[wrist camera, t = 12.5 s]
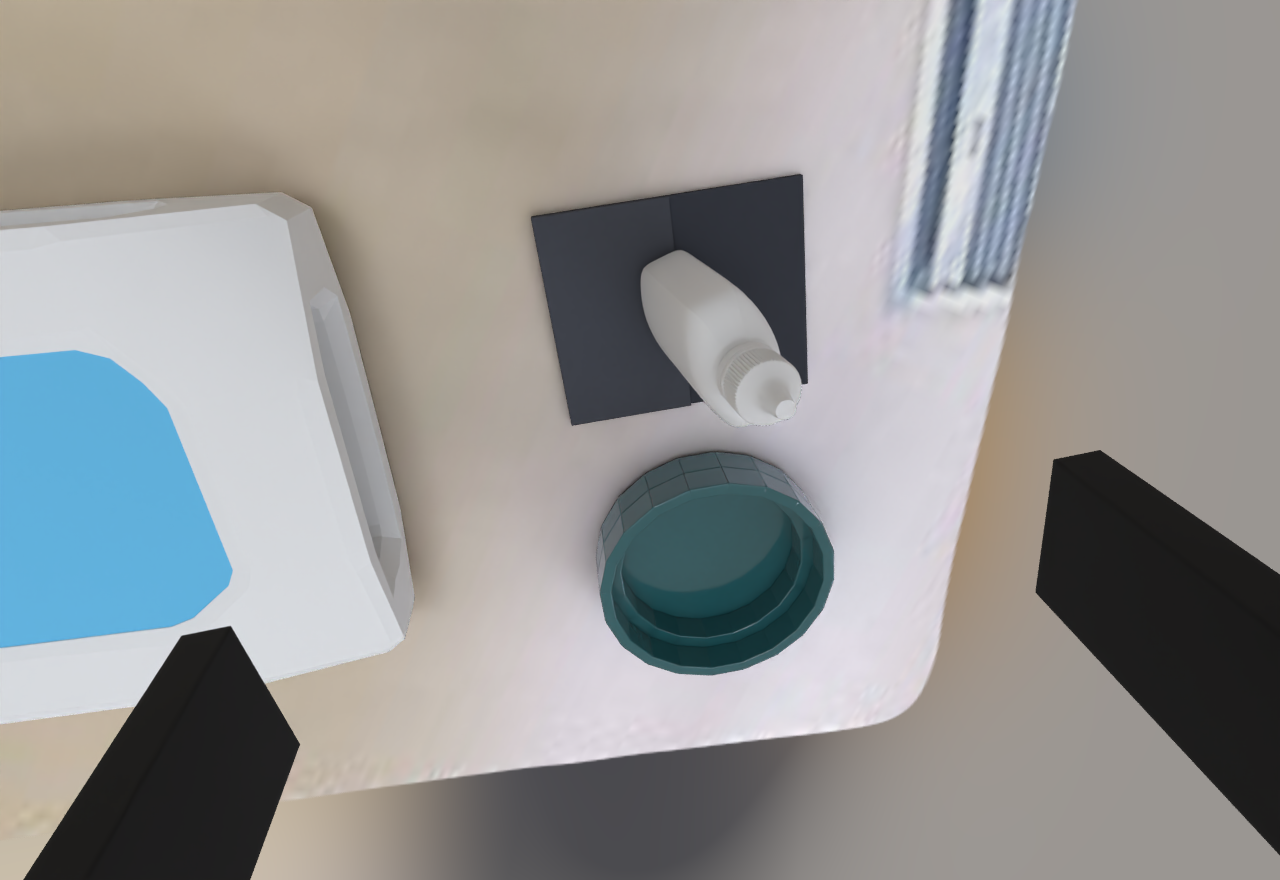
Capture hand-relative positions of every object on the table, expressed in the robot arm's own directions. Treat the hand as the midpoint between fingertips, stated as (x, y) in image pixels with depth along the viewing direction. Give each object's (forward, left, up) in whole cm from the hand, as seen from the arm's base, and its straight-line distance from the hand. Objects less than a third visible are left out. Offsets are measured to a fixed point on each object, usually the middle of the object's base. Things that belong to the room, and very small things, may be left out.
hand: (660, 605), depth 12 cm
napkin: (+2, +4, -23) cm, 24 cm away
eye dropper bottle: (+2, +4, -23) cm, 23 cm away
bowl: (+16, +4, -23) cm, 29 cm away
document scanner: (+4, -25, -23) cm, 35 cm away
